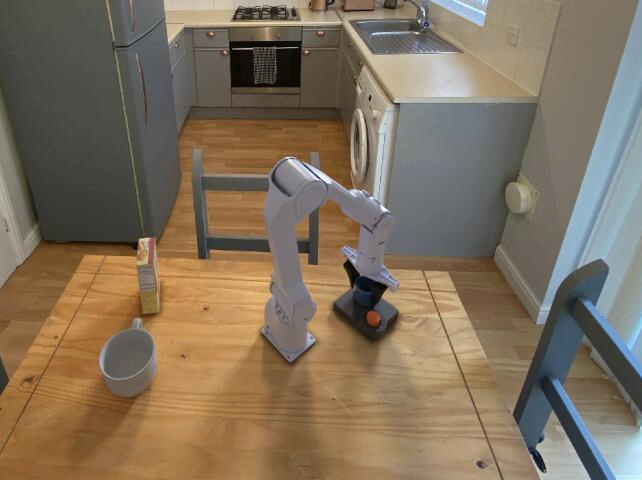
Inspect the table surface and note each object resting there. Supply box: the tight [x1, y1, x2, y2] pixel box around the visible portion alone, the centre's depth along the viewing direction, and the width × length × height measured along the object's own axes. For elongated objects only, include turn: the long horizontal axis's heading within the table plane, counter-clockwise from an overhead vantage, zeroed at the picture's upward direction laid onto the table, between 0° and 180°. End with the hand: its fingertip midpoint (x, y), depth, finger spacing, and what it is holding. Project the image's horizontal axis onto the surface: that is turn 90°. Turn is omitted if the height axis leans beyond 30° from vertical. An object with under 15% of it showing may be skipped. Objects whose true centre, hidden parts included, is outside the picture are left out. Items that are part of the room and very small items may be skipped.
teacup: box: [98, 317, 158, 398], centre depth 85 cm, size 14×11×8 cm
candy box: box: [135, 236, 161, 315], centre depth 100 cm, size 9×4×15 cm, turn 9°
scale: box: [332, 287, 400, 342], centre depth 97 cm, size 12×11×4 cm
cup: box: [353, 274, 376, 307], centre depth 99 cm, size 5×6×4 cm
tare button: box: [367, 311, 380, 327], centre depth 92 cm, size 3×3×2 cm
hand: (365, 294), depth 99 cm, fingers closed on cup, 5 cm apart
